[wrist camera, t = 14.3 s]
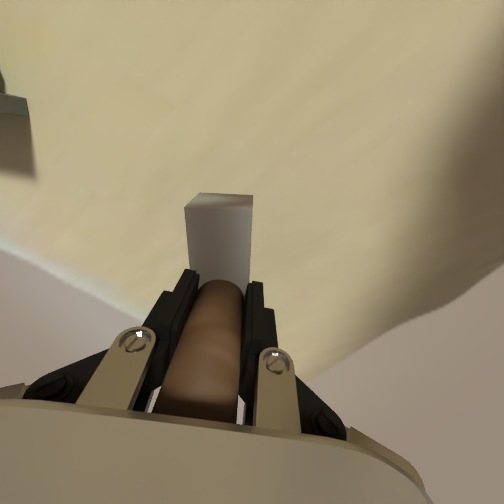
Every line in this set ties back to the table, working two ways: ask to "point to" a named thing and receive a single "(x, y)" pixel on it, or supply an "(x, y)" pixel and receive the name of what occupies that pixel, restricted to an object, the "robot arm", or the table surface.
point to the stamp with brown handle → (212, 311)
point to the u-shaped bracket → (13, 105)
